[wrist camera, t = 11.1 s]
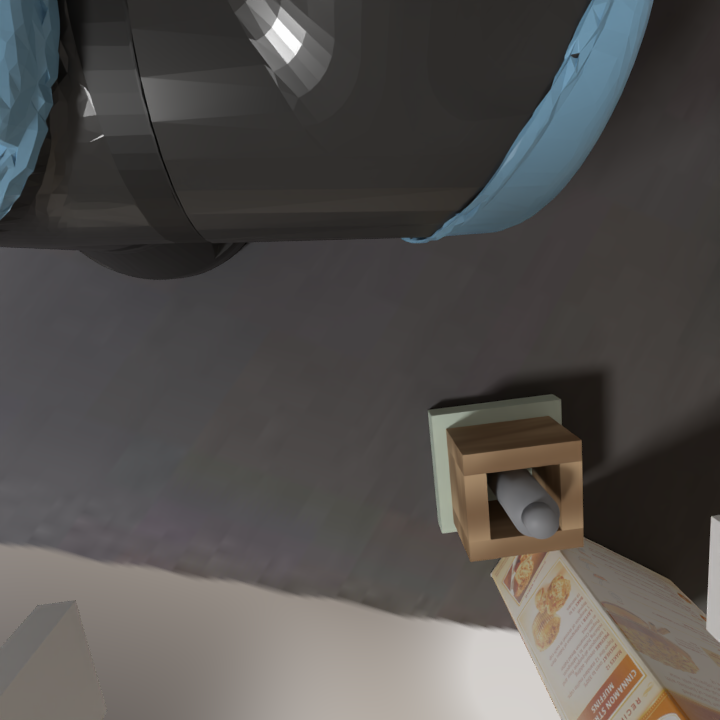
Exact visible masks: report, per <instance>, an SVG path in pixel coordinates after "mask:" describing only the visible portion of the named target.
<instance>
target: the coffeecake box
mask: <svg viewBox="0 0 720 720" xmlns="http://www.w3.org/2000/svg"><path fill="white" fill-rule="evenodd" d="M491 576H492V577H493V579H494V581H495V583H496V585H497V587H498V589H499V591H500V593H501V595H502V598H503V600H504V602H505V604H506V606H507V608H508V610H509V612H510V614H511V616H512V618H513V620H514V623H515V625H516V627H517V629H518V631H519V633H520V635H521V637H522V639H523V641H524V643H525V645H526V647H527V650H528V651H529V653H530V656H531V658H532V660H533V662H534V664H535V666H536V668H537V670H538V672H539V675H540V677H541V679H542V681H543V683H544V685H545V687H546V689H547V691H548V693H549V695H550V698H551V700H552V702H553V704H554V706H555V708H556V710H557V712H558V714H559V716H560V718H561V720H720V643H719V642H718V641H717V640H716V639H715V638H714V637H713V636H712V635H711V634H710V633H709V632H708V631H707V630H706V621H707V616H706V615H705V614H704V613H703V612H702V611H701V610H700V609H699V608H698V607H697V606H696V605H695V604H694V603H693V602H692V601H691V600H690V599H689V598H688V597H687V596H686V595H685V594H684V593H683V592H682V591H681V590H680V589H679V588H678V587H677V586H676V585H675V584H674V583H673V582H672V581H671V580H669V579H667V578H665V577H664V576H662V575H660V574H658V573H656V572H654V571H652V570H650V569H648V568H646V567H644V566H642V565H640V564H638V563H636V562H634V561H632V560H630V559H628V558H625V557H623V556H621V555H619V554H617V553H615V552H613V551H611V550H609V549H607V548H605V547H603V546H601V545H599V544H597V543H595V542H593V541H591V540H589V539H587V538H585V537H584V547H580V548H572V549H565V550H557V551H549V552H542V553H534V554H526V555H519V556H511V557H504V558H501V559H500V560H499V562H498V564H497V565H496V567H495V568H494V570H493V571H492V573H491Z"/></svg>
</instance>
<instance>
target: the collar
mask: <svg viewBox="0 0 720 720" xmlns="http://www.w3.org/2000/svg"><path fill="white" fill-rule="evenodd" d="M446 437H447V449H448V461H449V473H450V484H451V496H452V508H453V520H454V524H455V527H456V529H457V531H458V534H459V536H460V538H461V541H462V543H463V545H464V548H465V550H466V552H467V555H468V557H469V559H470V561H471V562H473V561H481V560H488V559H496V558H504V557H511V556H519V555H526V554H534V553H542V552H549V551H557V550H565V549H572V548H580V547H584V536H583V482H582V440H581V439H579V438H578V437H577V436H575V435H574V434H573V433H571V432H570V431H569V430H567V429H566V428H565V427H563V426H562V425H561V424H559V423H558V422H557V421H555V420H554V419H553V418H551V417H550V416H543V417H535V418H527V419H519V420H512V421H504V422H496V423H488V424H480V425H472V426H464V427H456V428H448V429H446ZM524 468H532V476H533V477H534V478H535V479H536V480H537V481H538V482H539V484H540V485H541V486H542V487H543V488H544V489H545V490H546V491H547V493H548V494H549V495H550V496H551V497H552V498H553V499H554V500H555V502H556V503H557V504H558V506H559V510H560V517H559V528H558V530H557V532H556V533H555V534H554V535H553V536H551V537H549V538H546V539H537V538H534V537H529V536H526V535H524V534H522V533H521V532H519V531H518V529H517V528H516V527H515V525H514V524H513V522H512V521H511V519H510V517H509V516H508V514H507V513H506V511H505V510H504V508H503V507H502V505H501V504H500V502H499V501H498V500H492V501H488V492H487V477H486V473H493V472H501V471H509V470H517V469H524Z"/></svg>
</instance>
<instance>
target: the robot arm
mask: <svg viewBox="0 0 720 720" xmlns="http://www.w3.org/2000/svg"><path fill="white" fill-rule="evenodd" d="M653 1H654V0H0V247H11V248H35V249H59V250H79V251H80V252H82V253H83V254H84V255H86V256H87V257H89V258H90V259H92V260H93V261H95V262H97V263H98V264H100V265H102V266H104V267H106V268H109V269H111V270H113V271H116V272H119V273H122V274H125V275H128V276H132V277H137V278H143V279H153V280H166V279H177V278H185V277H190V276H195V275H198V274H201V273H204V272H207V271H209V270H211V269H213V268H215V267H217V266H219V265H221V264H222V263H224V262H225V261H227V260H228V259H229V258H231V257H232V256H233V255H234V254H235V253H237V252H238V251H239V250H240V249H241V248H242V246H243V245H244V244H245V243H246V242H274V241H310V240H346V239H381V238H401V239H403V240H404V241H407V242H411V243H427V242H428V241H431V240H438V239H440V238H442V237H445V236H453V235H466V234H480V233H491V232H497V231H502V230H504V229H506V228H509V227H512V226H514V225H517V224H520V223H522V222H523V221H525V220H527V219H529V218H530V217H532V216H533V215H535V214H536V213H537V212H538V211H540V210H541V209H542V208H543V207H544V206H546V205H547V204H548V203H549V202H551V201H552V200H553V199H554V198H555V197H556V196H557V195H558V194H559V193H560V191H561V190H562V189H563V188H564V187H565V186H566V185H567V183H568V182H569V181H570V180H571V178H572V177H573V176H574V175H575V173H576V172H577V171H578V169H579V168H580V167H581V165H582V164H583V162H584V161H585V159H586V158H587V156H588V155H589V153H590V152H591V150H592V148H593V147H594V145H595V144H596V142H597V140H598V139H599V137H600V135H601V133H602V132H603V130H604V128H605V126H606V124H607V122H608V121H609V119H610V117H611V115H612V113H613V111H614V109H615V107H616V105H617V103H618V101H619V98H620V96H621V94H622V92H623V90H624V87H625V85H626V82H627V80H628V78H629V75H630V73H631V70H632V68H633V65H634V63H635V60H636V57H637V54H638V51H639V48H640V46H641V43H642V40H643V37H644V33H645V30H646V27H647V24H648V20H649V16H650V12H651V8H652V5H653ZM706 630H707V631H708V632H709V633H710V634H711V635H712V636H713V637H714V638H715V639H716V640H717V641H718V642H719V643H720V515H716V516H711V529H710V552H709V575H708V598H707V621H706ZM106 712H107V708H106V705H105V701H104V698H103V694H102V691H101V687H100V684H99V680H98V677H97V674H96V670H95V666H94V663H93V659H92V656H91V653H90V650H89V645H88V642H87V639H86V635H85V632H84V628H83V625H82V621H81V618H80V614H79V611H78V607H77V604H76V600H75V601H67V602H59V603H52V604H44V605H38V606H37V607H36V608H35V609H34V610H33V612H32V613H31V614H30V615H29V616H28V617H27V618H26V619H25V620H24V622H23V623H22V624H21V625H20V626H19V627H18V628H17V629H16V631H15V632H14V633H13V634H12V635H11V636H10V637H9V639H8V640H7V641H6V642H5V643H4V644H3V645H2V647H1V648H0V720H103V718H104V716H105V714H106Z"/></svg>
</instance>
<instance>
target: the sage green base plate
mask: <svg viewBox="0 0 720 720" xmlns="http://www.w3.org/2000/svg"><path fill="white" fill-rule="evenodd" d="M543 416H550V417H551V418H553V419H554V420H555V421H557V422H558V423H559V424H561V425H562V414H561V399H559V398H558V397H556V396H555V395H553V394H549V395H541V396H533V397H525V398H518V399H510V400H502V401H494V402H486V403H479V404H471V405H463V406H455V407H447V408H439V409H432V410H428V417H429V428H430V439H431V449H432V460H433V471H434V481H435V492H436V503H437V513H438V523H439V526H440V529H441V531H442V533H449V532H457V529H456V527H455V524H454V520H453V508H452V496H451V484H450V473H449V461H448V449H447V437H446V429H448V428H456V427H464V426H472V425H480V424H488V423H496V422H504V421H512V420H519V419H527V418H535V417H543ZM486 477H487V492H488V501H492V500H498V501H499V502H500V504H501V505H502V507H503V508H504V510H505V511H506V513H507V514H508V516H509V517H510V519H511V521H512V522H513V524H514V525H515V527H516V528H517V529H518V531H519V532H521V533H522V534H524V535H526V536H529V537H534V538H537V539H546V538H549V537H551V536H553V535H554V534H555V533H556V532H557V530H558V528H559V517H560V510H559V506H558V504H557V503H556V502H555V500H554V499H553V498H552V497H551V496H550V495H549V494H548V493H547V491H546V490H545V489H544V488H543V487H542V486H541V485H540V484H539V482H538V481H537V480H536V479H535V478H534V477H533V476H532V468H524V469H517V470H509V471H501V472H493V473H486Z"/></svg>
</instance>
